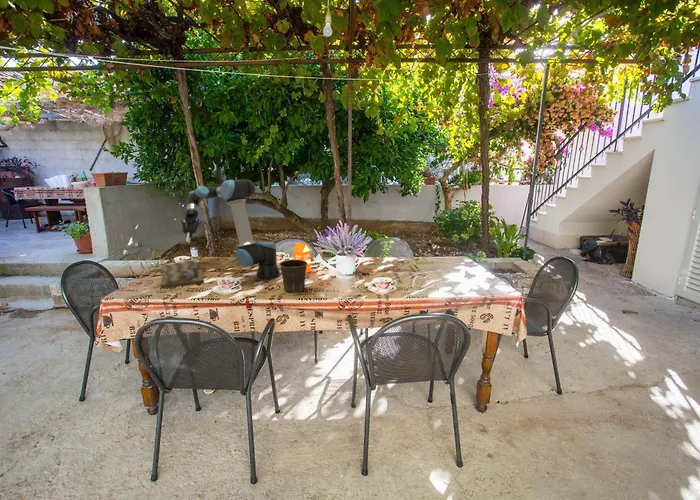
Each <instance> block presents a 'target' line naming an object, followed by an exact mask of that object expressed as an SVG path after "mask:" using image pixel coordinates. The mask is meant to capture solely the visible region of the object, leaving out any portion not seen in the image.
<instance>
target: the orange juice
mask: <svg viewBox="0 0 700 500" xmlns="http://www.w3.org/2000/svg"><path fill="white" fill-rule="evenodd" d="M292 251H293V254H292V255H293V260H303V261H306V262H307V266H306V272H305V274H307V273H308V272H311V271H312V270H311V269H312V267H311V263H312V262H311V250H310V248H309V246H308V245H307V243H303V242H296V245H295V247H294V250H292Z"/></svg>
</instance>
